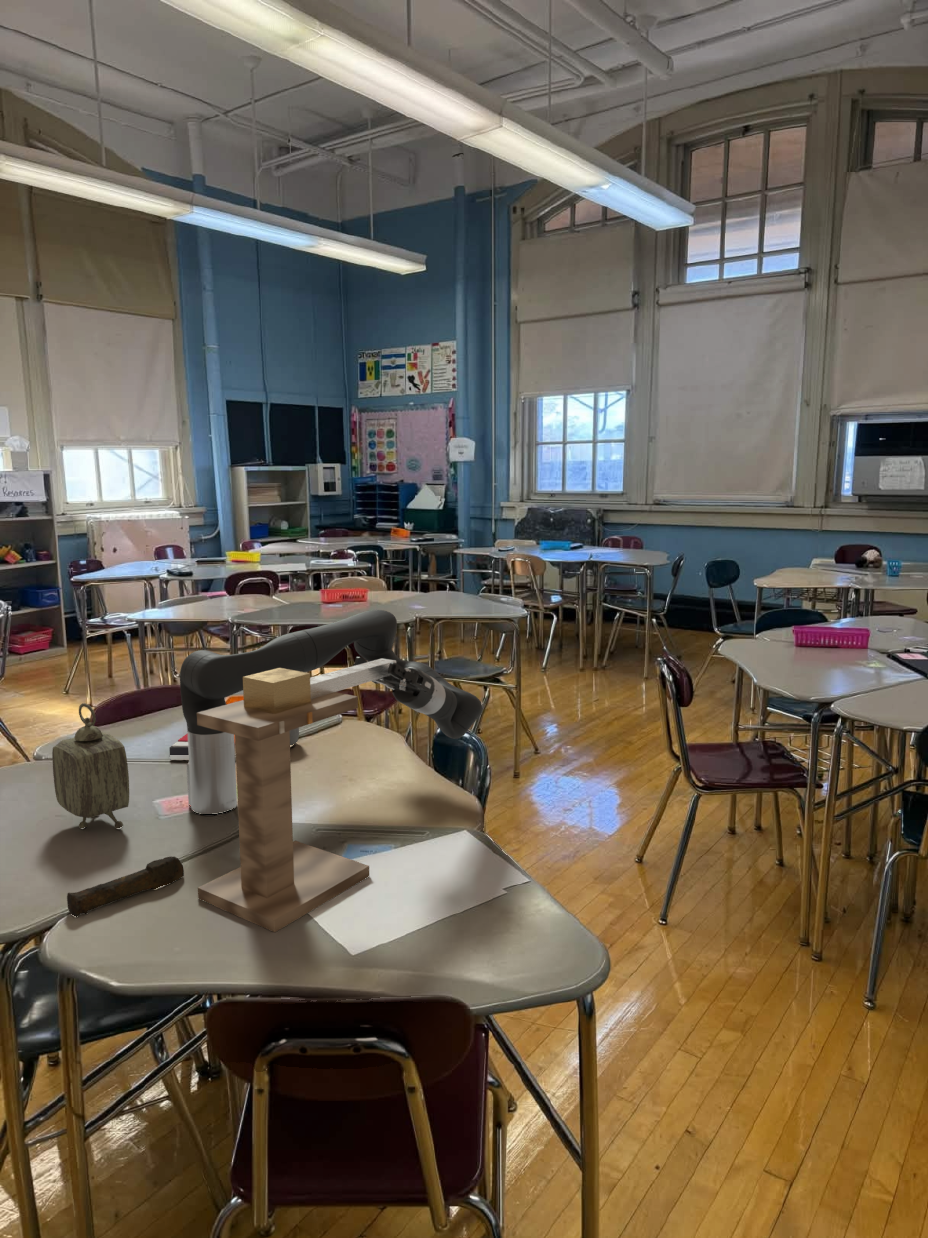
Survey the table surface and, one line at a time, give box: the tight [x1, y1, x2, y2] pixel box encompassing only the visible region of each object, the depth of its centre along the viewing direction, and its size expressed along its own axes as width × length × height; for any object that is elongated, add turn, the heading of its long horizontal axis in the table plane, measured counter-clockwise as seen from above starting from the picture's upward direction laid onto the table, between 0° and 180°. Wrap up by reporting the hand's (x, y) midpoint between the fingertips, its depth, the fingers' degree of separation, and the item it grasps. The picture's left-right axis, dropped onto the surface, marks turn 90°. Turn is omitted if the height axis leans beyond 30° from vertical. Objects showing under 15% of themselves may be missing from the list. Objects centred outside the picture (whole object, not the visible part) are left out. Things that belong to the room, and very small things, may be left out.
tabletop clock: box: [51, 702, 130, 829], centre depth 163 cm, size 14×9×25 cm, turn 47°
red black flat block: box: [169, 733, 189, 756], centre depth 211 cm, size 11×4×15 cm
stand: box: [197, 691, 370, 933], centre depth 138 cm, size 18×22×32 cm
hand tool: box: [66, 856, 185, 917], centre depth 137 cm, size 19×4×5 cm, turn 133°
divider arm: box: [242, 658, 396, 714], centre depth 145 cm, size 7×32×5 cm, turn 146°
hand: (373, 664), depth 154 cm, fingers open, 8 cm apart
